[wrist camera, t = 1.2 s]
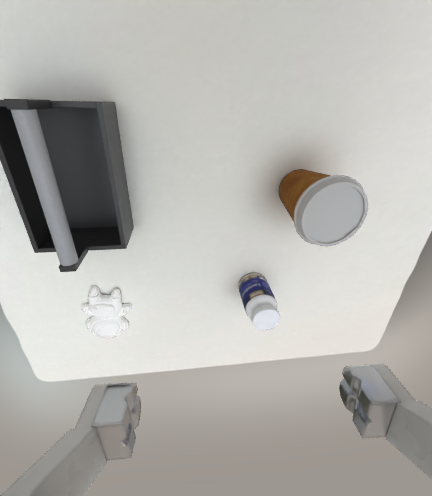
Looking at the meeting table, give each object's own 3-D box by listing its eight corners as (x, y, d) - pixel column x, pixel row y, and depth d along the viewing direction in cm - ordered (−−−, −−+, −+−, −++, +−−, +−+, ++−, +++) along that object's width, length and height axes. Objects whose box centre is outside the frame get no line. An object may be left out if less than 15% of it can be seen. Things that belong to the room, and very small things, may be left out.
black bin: (14, 99, 33) (-62, 97, 22) (114, 101, 34) (86, 100, 24) (55, 231, 41) (14, 274, 31) (133, 228, 43) (119, 268, 32)
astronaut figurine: (134, 288, 49) (132, 299, 46) (127, 334, 54) (125, 346, 51) (83, 282, 46) (78, 293, 44) (82, 331, 52) (77, 343, 49)
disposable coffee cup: (273, 222, 45) (302, 258, 35) (264, 169, 41) (293, 191, 30) (326, 206, 45) (370, 237, 35) (323, 150, 40) (373, 167, 30)
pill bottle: (251, 267, 49) (266, 301, 41) (272, 280, 52) (290, 316, 43) (231, 287, 51) (242, 324, 43) (252, 299, 53) (266, 337, 45)
